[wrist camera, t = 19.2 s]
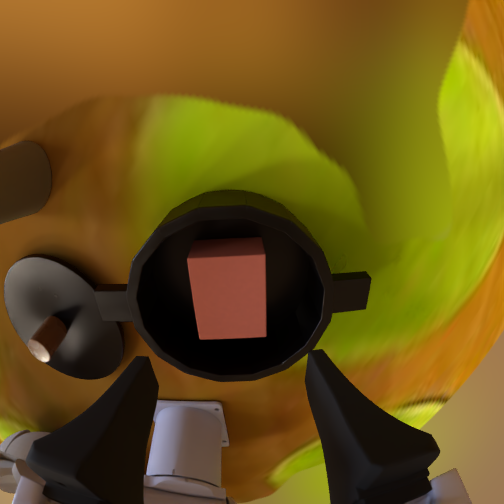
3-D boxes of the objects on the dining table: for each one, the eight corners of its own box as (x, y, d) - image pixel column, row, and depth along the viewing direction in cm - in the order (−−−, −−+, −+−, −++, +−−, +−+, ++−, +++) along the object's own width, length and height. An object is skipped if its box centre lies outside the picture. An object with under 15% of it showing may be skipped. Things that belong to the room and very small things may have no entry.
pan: (340, 333, 24) (356, 368, 19) (134, 342, 23) (120, 379, 19) (356, 187, 19) (386, 202, 15) (100, 201, 18) (68, 220, 14)
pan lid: (143, 376, 25) (132, 414, 20) (40, 364, 24) (23, 392, 20) (104, 246, 19) (74, 275, 15) (-6, 254, 19) (-36, 277, 14)
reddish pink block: (262, 312, 22) (266, 337, 19) (203, 314, 21) (199, 340, 19) (261, 236, 19) (265, 254, 16) (193, 239, 19) (186, 258, 16)
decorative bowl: (174, 439, 29) (162, 544, 16) (161, 496, 40) (156, 555, 26) (-17, 360, 25) (-62, 429, 11) (30, 449, 35) (11, 499, 21)
